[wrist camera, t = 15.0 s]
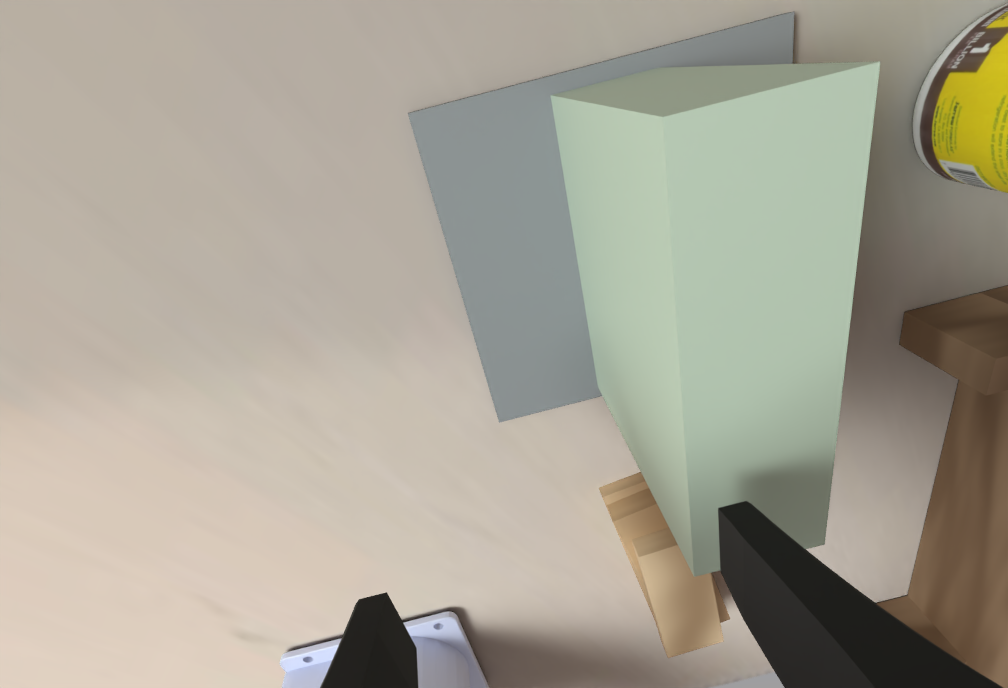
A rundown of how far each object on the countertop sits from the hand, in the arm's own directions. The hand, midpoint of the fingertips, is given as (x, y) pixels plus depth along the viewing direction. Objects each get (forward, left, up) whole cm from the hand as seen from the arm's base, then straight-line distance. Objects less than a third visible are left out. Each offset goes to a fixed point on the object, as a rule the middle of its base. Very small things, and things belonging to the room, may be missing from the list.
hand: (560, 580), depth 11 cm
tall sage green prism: (+5, +3, -10) cm, 12 cm away
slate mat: (+5, +3, -10) cm, 12 cm away
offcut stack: (+5, -14, -11) cm, 19 cm away
